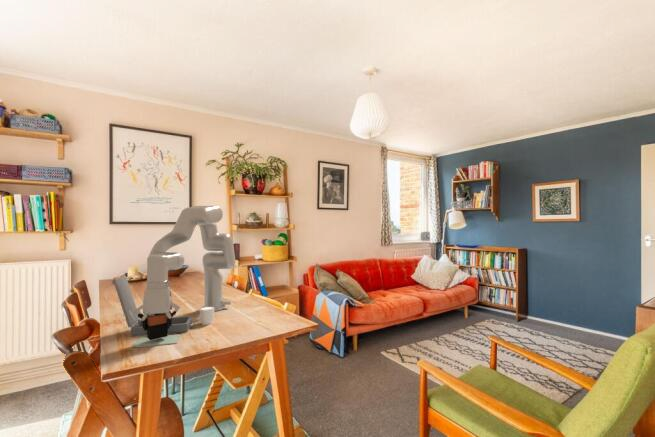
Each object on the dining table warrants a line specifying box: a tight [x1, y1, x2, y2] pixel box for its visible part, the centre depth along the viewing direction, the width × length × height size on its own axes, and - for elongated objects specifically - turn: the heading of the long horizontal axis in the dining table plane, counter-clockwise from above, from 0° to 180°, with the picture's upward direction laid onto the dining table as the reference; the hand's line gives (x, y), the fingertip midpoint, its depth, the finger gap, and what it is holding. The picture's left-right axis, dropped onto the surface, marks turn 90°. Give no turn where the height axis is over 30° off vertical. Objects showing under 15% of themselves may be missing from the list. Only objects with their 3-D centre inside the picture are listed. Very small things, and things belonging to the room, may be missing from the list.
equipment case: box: [128, 310, 192, 337], centre depth 143 cm, size 23×12×11 cm, turn 105°
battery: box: [146, 313, 169, 340], centre depth 129 cm, size 4×7×10 cm, turn 134°
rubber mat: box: [130, 333, 182, 349], centre depth 129 cm, size 16×10×1 cm, turn 105°
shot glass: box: [198, 306, 215, 326], centre depth 153 cm, size 7×7×7 cm
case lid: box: [113, 275, 139, 329], centre depth 139 cm, size 21×12×1 cm
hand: (157, 328), depth 129 cm, fingers closed on battery, 7 cm apart
